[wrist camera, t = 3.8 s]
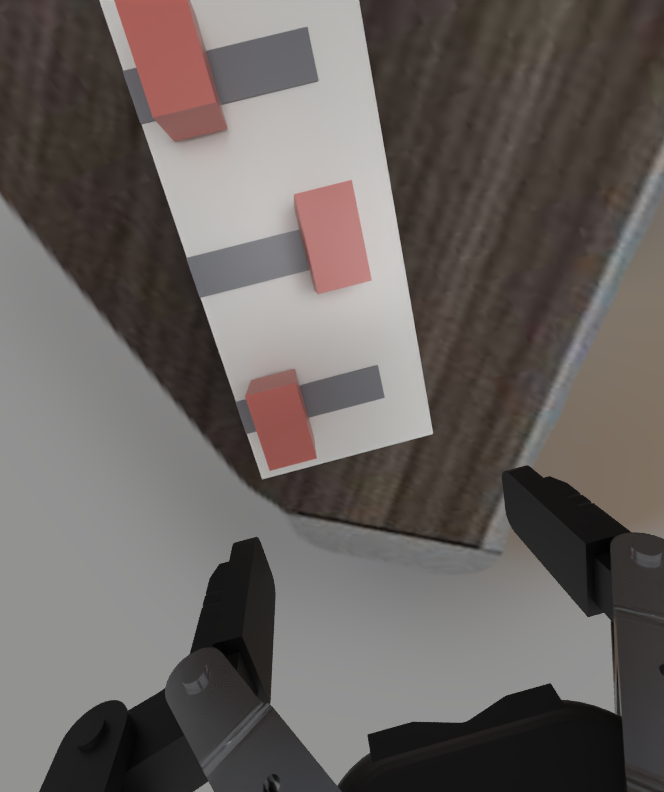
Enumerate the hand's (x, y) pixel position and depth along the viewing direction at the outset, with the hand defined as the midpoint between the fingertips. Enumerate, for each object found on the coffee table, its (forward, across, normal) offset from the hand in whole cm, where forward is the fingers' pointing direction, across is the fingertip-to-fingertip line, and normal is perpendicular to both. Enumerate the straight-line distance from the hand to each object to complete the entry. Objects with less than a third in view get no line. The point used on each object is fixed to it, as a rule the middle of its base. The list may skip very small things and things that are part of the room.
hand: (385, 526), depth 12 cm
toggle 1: (+15, +4, -19) cm, 24 cm away
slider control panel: (+20, 0, -12) cm, 23 cm away
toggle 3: (+15, -2, -9) cm, 18 cm away
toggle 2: (+15, +4, 0) cm, 15 cm away
